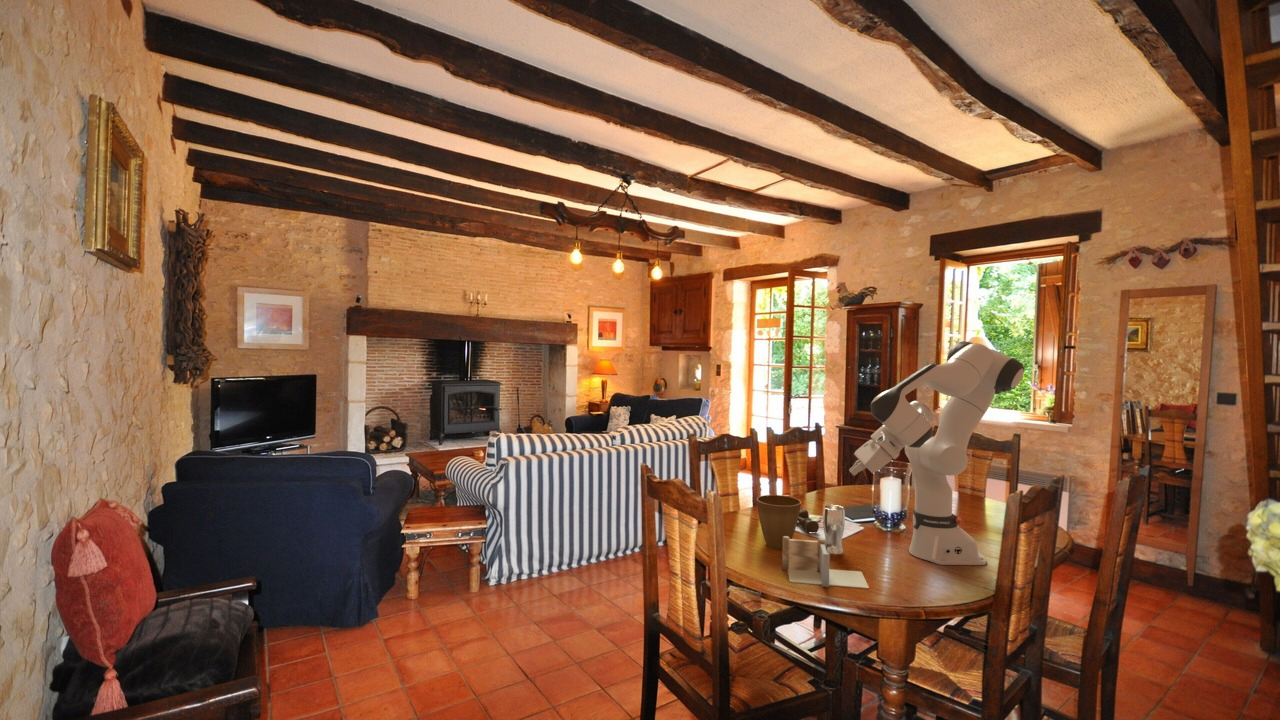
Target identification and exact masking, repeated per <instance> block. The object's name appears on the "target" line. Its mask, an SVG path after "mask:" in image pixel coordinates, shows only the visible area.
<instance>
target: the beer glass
mask: <svg viewBox="0 0 1280 720" xmlns="http://www.w3.org/2000/svg"><path fill="white" fill-rule="evenodd" d="M845 514H846V513H845V507H844V506H841V505H836V504H825V505H824V506H823V513H822V523H823V524H822V525H823V534H824V539H826V551H827V553H829V554H830V555H832V554H833V555H834V556H840V555H842V554H843V553H844V550H843V542H842V541H843V536H844V531H845V526H846V525H845V524H846V523H845V522H846V518H845V517H846V515H845Z"/></svg>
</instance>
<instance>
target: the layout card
mask: <svg viewBox="0 0 1280 720" xmlns="http://www.w3.org/2000/svg"><path fill="white" fill-rule="evenodd" d="M787 573H788V579H789V583H793V584H805V585H815V586H817V585H818V586H822V578H821V574H820V572H819V571H805V570H792V569H788V570H787ZM831 586H832V587H843V588H855V589H865V590H867V589H868V590H869V589H870V586H869V585H868V583H867V580H866V578H865V577H864V574H863V572H862V571H857V570H856V571H855V570H845V569H842V570H841V569H831V568H829V587H831Z"/></svg>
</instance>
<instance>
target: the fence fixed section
mask: <svg viewBox="0 0 1280 720" xmlns="http://www.w3.org/2000/svg"><path fill="white" fill-rule="evenodd" d="M820 544H825V548H826V539H825V538H823V537H821V538H817V540H809V539H796V538H792V539H789V537H788V536H783V549H782V557H781V558H782V567H781V568H782V570H783V571H788V569H792V570H805V571H819V572H820Z"/></svg>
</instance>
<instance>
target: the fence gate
mask: <svg viewBox="0 0 1280 720" xmlns="http://www.w3.org/2000/svg"><path fill="white" fill-rule="evenodd" d="M830 555H831V554H829V553H827V551H826V548H825V544H820V574H821V578H822V585H821V587H824V588H829V587H830V586H829V569H830V557H831V556H830Z"/></svg>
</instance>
